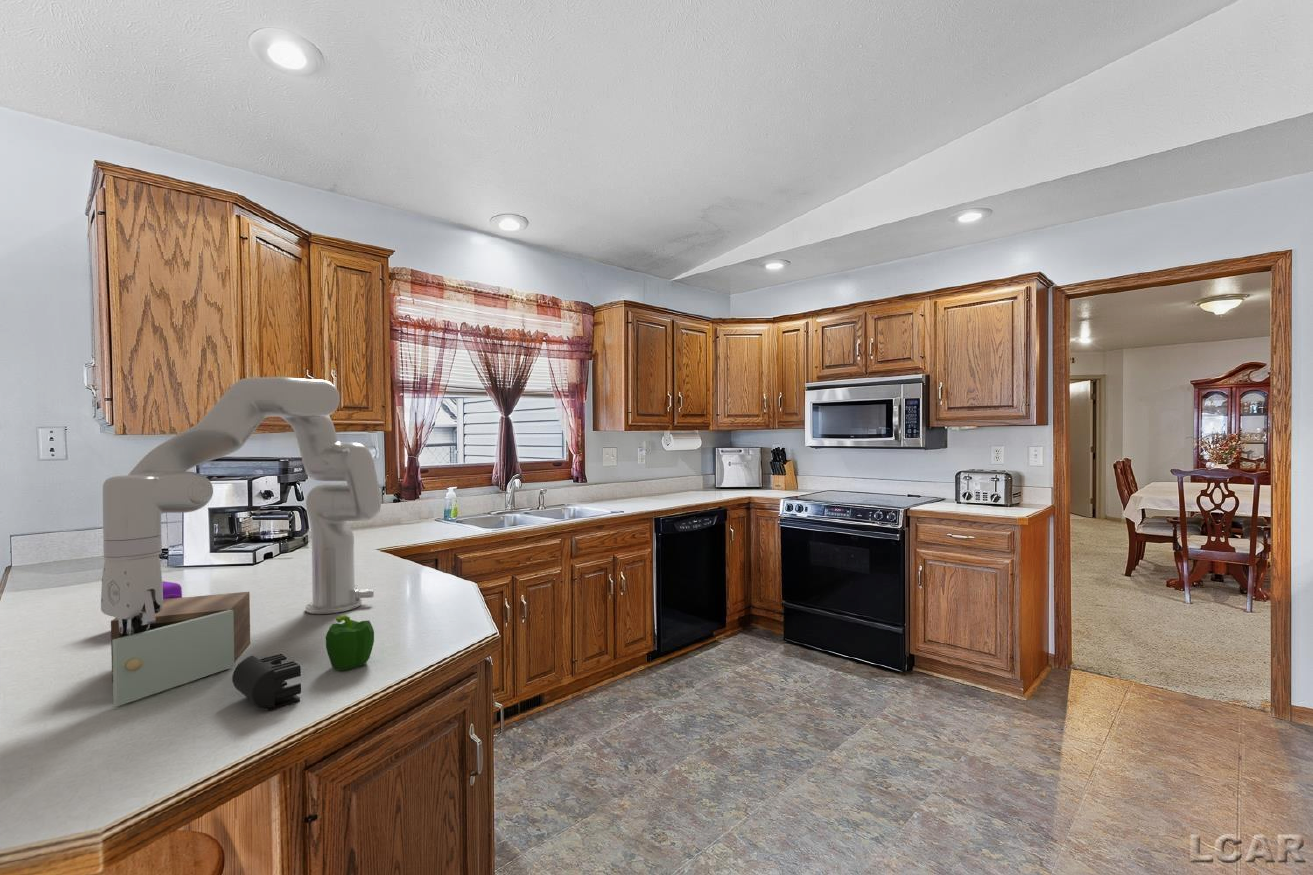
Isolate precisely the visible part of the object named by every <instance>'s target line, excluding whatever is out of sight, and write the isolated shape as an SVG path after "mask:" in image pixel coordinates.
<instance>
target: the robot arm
mask: <svg viewBox="0 0 1313 875" xmlns="http://www.w3.org/2000/svg"><path fill="white" fill-rule="evenodd" d="M340 401H341V400H340V392H339V390H338V388H337V387H336V386H335V385H334V384H333V383H332V382H331V381H328V380H326V379H325V380H324V379H315V378H314V379H312V378H300V377H299V378H298V377H288V376H266V377H265V376H261V377H259V376H258V377H255V376H254V377H246V378H241V379H239V380H237V381H235V382H234V383H233V384H232V385H231V386H230V387H229V388H228V389H227V391H226V392H225V393H224V394H223V395H222V396H221V397H220V398H219V399H218V401H217V402H216V403H215V404H214V405H213V407H212V408H211V409H210V410H209V411H208V412H207V413H206V414H205V415H204V417H203V418H202V419H201V420H200V421H199V422H198V423H196V425H193V426H191V427H189V428H187V429H185V430H184V431H182V432H179V434H176V435H175V436H173V437H171V438H169V439H168V440H166V441H163V442H162V443H160V444H159V445H157V446H156V447H155V448H153V449H152V450H150V451H149V452H148V453H147V454H146V455H145V456H144V457H142V459H141V460H140V461H139V462H137V464H136V465H135V466H134V467H133V469H132V470H131V471H129V473H128V474H127V475H117V476H112V477H108V478H107V479H106V480H104V482H103V484H102V530H103V531H102V534H103V538H102V539H103V542H102V543H103V549H102V550H103V560H104V561H103V567H102V577H101V589H100V590H101V591H100V592H101V593H100V612H102V613H103V614H104V615H106V616H109V617H114V619H115V618H117V619H118V621H119V631H120V633H123V634H121V637H125V636H129V635H133V634H137V633H141V632H145V631H148V630H149V628H150V623H154V622H155V621H156V618H155V613H158V612H160V611H161V609H162V605H163V586H162V581H163V576H162V568H161V561H160V556H161V555H162V553H163V552H162V551H163V550H162V543H163V542H162V541H163V540H162V515H163V514H167V513H168V514H169V513H170V514H172V513H174V514H175V513H177V514H178V513H179V514H180V513H181V514H182V513H184V514H186V513H193V512H196V511H199V510H200V509H203V508H204V507H205V506H206V505H208V504H209V502H210V501H211V500H212V497H213V495H214V486H213V484H212V482H211V480H210V479H209V478H207V476H205V475H203V474H200V473H199V472H194V471H189V470H191V469H193V468H194V467H197V466H198V465H201V464H204V463H206V462H209V461H213V460H217V459H219V458H223V457H226V456H228V455H230V454H232V453H235V452H237V451H239V450H241V448H243V446H244V445H245V444H246V442H247V441H248V440H249V439H250V437H251V436H252V435H253V433H254V432H255V431H256V430H257V428H258V427H259V425H261V423H263V421H264V420H265V419H267V418H272V417H273V418H281V419H283V420H284V421H285V422H287V423H288V425H290V426H291V428H292V430H293V431H294V434H295V438H296V441H297V445H298V448H299V452H300V457H301V461H302V465H303V468H304V471H305V474H306V475H307V477H308V478H310V479H311V480H314V481H321V482H327V483H321V484H318V485H316V486H314V487H313V488H312V489H310V491H309V492H308V494H307V496H306V499H305V500H306V501H305V505H306V507H305V508H306V511H307V516H308V518H309V519H308V520H309V525H310V532H311V535H310V536H311V577H312V578H311V581H312V582H311V584H312V588H311V589H312V601H311V602H310V603H307V604H306V605H305V612H307V613H309V614H313V615H330V614H336V613H343V612H347V611H350V610H353V609H356V608H359V607H360V606H361V605H362V599H365V598H366V599H367V598H368V599H369V598H374V596H375V592H374V589H370V588H367V589H366V588H365V589H360V588H358V585H357V584H355V537H354V533H353V530H352V528H351V526H350V524H349V523H348V522H364V521H365V522H366V521H371V520H373V519H374V518H376V517H377V516H378V514H379V513H380V510H381V507H382V496H381V490H380V486H379V480H378V476H377V470H376V466H375V461H374V458H373V455H372V452H371V451H370V450H369V449H368V447H367V446H366V445H364V444H362V443H359V442H341V441H340V440H339V438H338V435H337V433H336V432H337V431H336V429H335V424H334V422H333V420H332V418H331V415H333V414H334V413H335V412H336V411H337V409H338V408H339V405H340ZM335 481H336V482H335ZM159 555H160V556H159ZM141 612H142V613H141Z"/></svg>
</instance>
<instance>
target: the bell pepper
mask: <svg viewBox="0 0 1313 875" xmlns="http://www.w3.org/2000/svg"><path fill="white" fill-rule="evenodd" d="M335 620H336V623H332V624H331V625H330V627H329V628H328V630H327V633H326V635H325V649H326V651H327V652H326V653H327V656H328V660H329V661H330V662H329V663H330V665H331V667H332V669H333V670H337V671H348V670H351V669H354V668H355V667H359V666H361V667H362V666H364V665H366V664H367V663H368V661H369V660H370V658H371V655H372V651H373V646H374V643H375V630H374V627H373V625H372V623H371V621H370V620H361V621H357V620H353V619H351V617H350V616H348V615H339V616H338V617H337V618H336V619H335Z"/></svg>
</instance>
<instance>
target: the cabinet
mask: <svg viewBox="0 0 1313 875" xmlns="http://www.w3.org/2000/svg"><path fill="white" fill-rule="evenodd" d="M250 595H251V594H250V591H240V592H232V593H231V592H230V593H229V592H228V593H221V594H220V593H218V594H207V595H206V594H205V595H197V596H196V595H195V596H188V597H187V596H186V597H185V596H184V597H183V596H182V598H172V599H163V605H162V609H161V611H160V612H158V613H155V618H156V621H155V622H154V623H150V628H149V630H153V629H156V628H160V627H164V626H168V625H172V624H176V623H180V622H184V621H188V620H192V619H195V618H199V617H203V616H207V615H211V614H215V613H219V612H223V611H227V610H233V619H234V664H235V663H236V661H237V660H238V659H239V658H240V657H241V656H242V654H243V653H244V652H245V651H246V650H247V648H248V647H249V646H250V644H251V606H250V605H251V604H250V602H251V601H250V597H251V596H250ZM141 613H142V612H141ZM149 630H148V631H149ZM121 634H123V633H120V631H119V621H118V619H117V618H115V617H114V618H113V619H112V620H110V642H111V644H110V645H111V648H110V649H111V650H110V651H111V683H113V647H112V640H113V639H117V638H121Z"/></svg>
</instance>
